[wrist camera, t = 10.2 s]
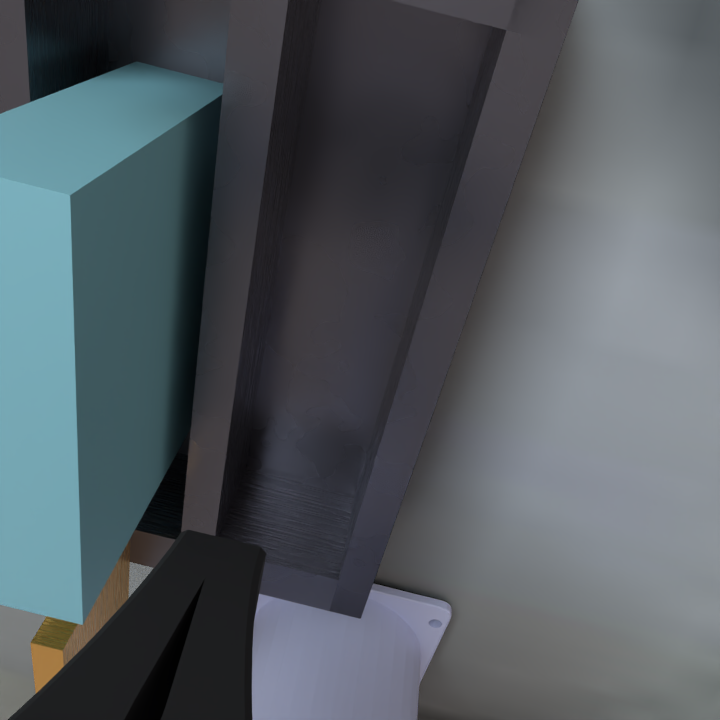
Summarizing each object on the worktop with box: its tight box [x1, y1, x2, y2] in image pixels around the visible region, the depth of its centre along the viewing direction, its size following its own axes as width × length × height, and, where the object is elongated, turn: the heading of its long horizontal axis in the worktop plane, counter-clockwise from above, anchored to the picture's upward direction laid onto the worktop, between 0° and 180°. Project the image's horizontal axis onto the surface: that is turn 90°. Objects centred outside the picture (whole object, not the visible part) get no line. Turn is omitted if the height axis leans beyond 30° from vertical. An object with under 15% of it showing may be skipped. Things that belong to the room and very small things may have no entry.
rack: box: [0, 0, 578, 693], centre depth 16 cm, size 22×15×8 cm
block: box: [0, 61, 223, 625], centre depth 15 cm, size 10×2×8 cm, turn 168°
